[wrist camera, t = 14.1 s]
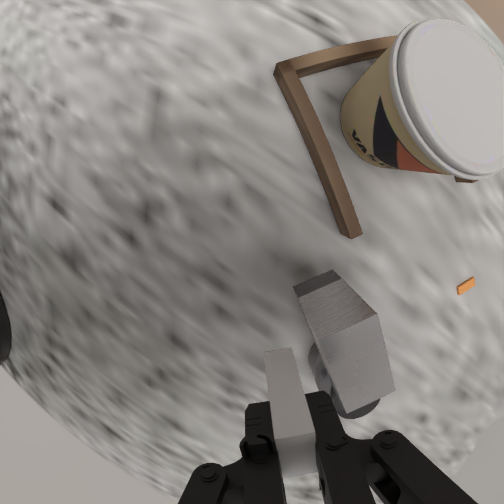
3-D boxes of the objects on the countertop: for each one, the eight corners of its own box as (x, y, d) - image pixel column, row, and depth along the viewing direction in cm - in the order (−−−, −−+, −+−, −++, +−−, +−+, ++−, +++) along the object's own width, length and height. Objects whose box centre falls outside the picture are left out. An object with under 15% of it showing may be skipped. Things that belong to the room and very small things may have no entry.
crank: (376, 392, 22) (411, 451, 15) (336, 410, 22) (361, 475, 15) (337, 267, 20) (384, 309, 13) (286, 289, 20) (310, 344, 13)
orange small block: (457, 294, 26) (459, 295, 26) (456, 286, 26) (458, 287, 26) (473, 284, 26) (475, 285, 26) (472, 276, 26) (474, 277, 26)
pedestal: (317, 384, 28) (329, 417, 23) (301, 345, 27) (312, 376, 22) (364, 363, 27) (383, 392, 23) (352, 322, 26) (372, 349, 21)
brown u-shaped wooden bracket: (340, 233, 25) (351, 239, 22) (273, 74, 22) (276, 63, 19) (463, 178, 24) (479, 179, 21) (408, 41, 21) (421, 32, 18)
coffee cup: (313, 148, 23) (377, 120, 11) (348, 54, 21) (414, -15, 10) (409, 195, 24) (508, 210, 12) (436, 105, 22) (528, 78, 11)
